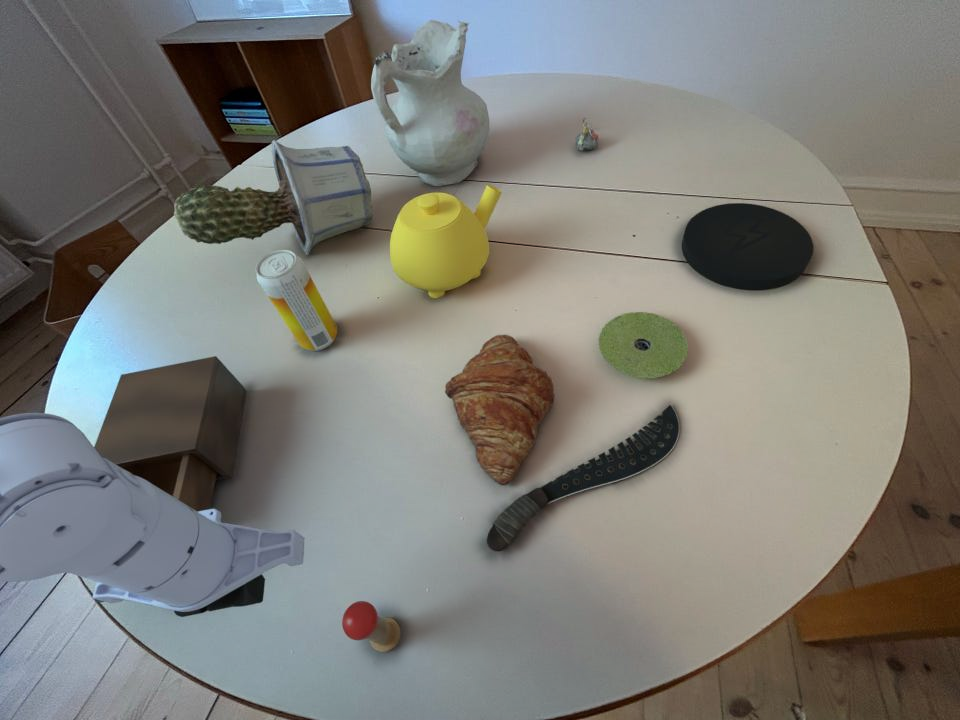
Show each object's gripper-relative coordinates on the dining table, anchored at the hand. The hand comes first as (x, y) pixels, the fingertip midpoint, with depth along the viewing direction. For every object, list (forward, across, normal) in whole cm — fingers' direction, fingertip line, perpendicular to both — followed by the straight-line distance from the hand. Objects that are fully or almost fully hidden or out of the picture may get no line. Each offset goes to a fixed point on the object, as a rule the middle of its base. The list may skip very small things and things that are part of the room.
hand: (256, 591), depth 42 cm
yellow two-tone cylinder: (+11, 0, -38) cm, 40 cm away
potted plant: (+11, +4, -62) cm, 64 cm away
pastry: (+11, -25, -20) cm, 34 cm away
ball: (+4, -8, +4) cm, 10 cm away
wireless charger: (+11, -66, -39) cm, 78 cm away
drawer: (+9, +17, -12) cm, 23 cm away
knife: (+11, -33, -8) cm, 36 cm away
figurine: (+11, -53, -75) cm, 92 cm away
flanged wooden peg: (+10, -8, +4) cm, 14 cm away
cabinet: (+10, +17, -24) cm, 31 cm away
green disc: (+11, -45, -24) cm, 52 cm away
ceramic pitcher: (+11, -24, -77) cm, 81 cm away
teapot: (+11, -23, -49) cm, 55 cm away
